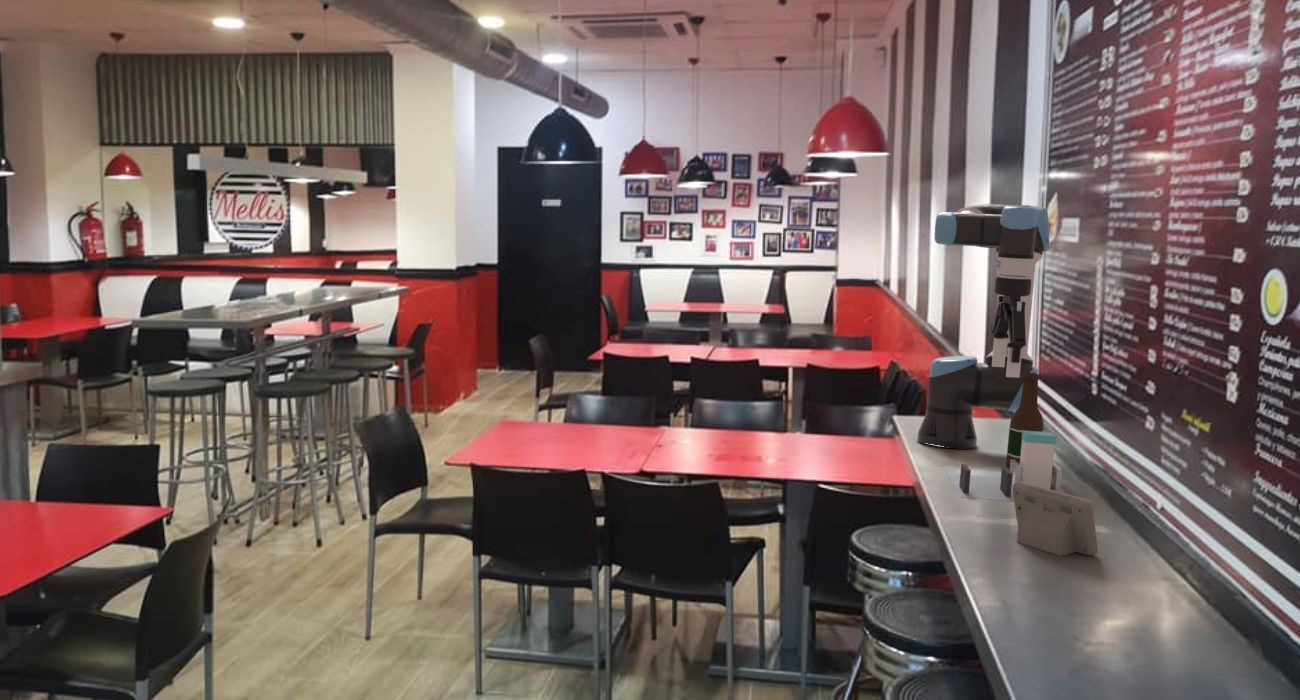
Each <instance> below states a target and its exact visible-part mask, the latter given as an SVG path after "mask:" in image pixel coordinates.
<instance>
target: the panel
mask: <svg viewBox="0 0 1300 700" xmlns="http://www.w3.org/2000/svg"><path fill="white" fill-rule="evenodd" d="M945 474H946V476H947V478H948V479H949V481H950V483H951V484H952V486H953V487H954V488H955V491H956V492H957V494H958V496H959V497H960V498H965V499H974V500H975V499H976V500H977V499H979V500H990V501H1001V502H1014V497H1013V486H1012V488H1011V497H1006V496H1005V495H1004V494H1003V492H1002V491H1001V490H1000V485H1001V476H999V477H998V476H986V475H975V474H974V475H973V474H970V485H969V494H966V493H963V491H962V490H961V488H960V486H959V485H960V473H948V472H947V473H945ZM1050 490H1053V489H1052V488H1051V487H1050ZM1053 491H1054V490H1053ZM1060 492H1061V493H1064V494H1068V493H1067V492H1066V491H1065V490H1064V489H1063V488H1062V486H1060Z"/></svg>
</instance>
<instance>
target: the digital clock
mask: <svg viewBox="0 0 1300 700" xmlns="http://www.w3.org/2000/svg"><path fill="white" fill-rule="evenodd" d="M1013 497H1014V509H1015V516H1016V522H1017V539H1016V543H1019V544H1022V545H1025V546H1028V547H1030V548H1032V549H1033V548H1034V549H1037V550H1040V551H1043V552H1046V553H1048V554H1049V553H1050V554H1052V555H1055V556H1058V557H1062V556H1065V555H1070V554H1073V553H1080V554H1082V555H1086V556H1095V555H1096V554H1098V551H1099V550H1098V549H1099V548H1098V541H1097V540H1098V539H1097V534H1096V533H1097V532H1096V525H1095V524H1096V523H1095V515H1094V514H1095V513H1094V509H1093V504H1092V502H1091V501H1090V500H1088V499H1085V498H1083V497H1079V496H1075V495H1071V494H1069V493H1067V494H1064V493H1061V492H1057V491H1053V490H1050V489H1046V488H1042V487H1039V486H1035V485H1031V484H1027V483H1022V482H1015V483H1014V484H1013Z"/></svg>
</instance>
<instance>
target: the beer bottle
mask: <svg viewBox="0 0 1300 700" xmlns="http://www.w3.org/2000/svg"><path fill="white" fill-rule="evenodd" d="M1023 378H1024V383H1023V390H1022V396H1021V402H1020V405H1019V408H1018V409H1017V410H1016V411H1014V412H1013V414H1012V416H1011V418H1010V423H1009V428H1008V429H1009V430H1008V438H1007V439H1008V440H1007V449H1006V460H1005V467H1007V468H1008V469H1009V470H1010V461H1011V460H1016V461H1017V462H1018V464H1019V465H1020V455H1021V445H1022V430H1024V431H1038V432H1044V424H1045V423H1044V422H1045V421H1044V418H1043V414H1042V413H1041V411H1040V410H1039V406H1038V405H1039V403H1038V397H1039V394H1038V391H1039V380H1040V374H1038V373H1037V374H1035V373H1025V374H1024V376H1023Z"/></svg>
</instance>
